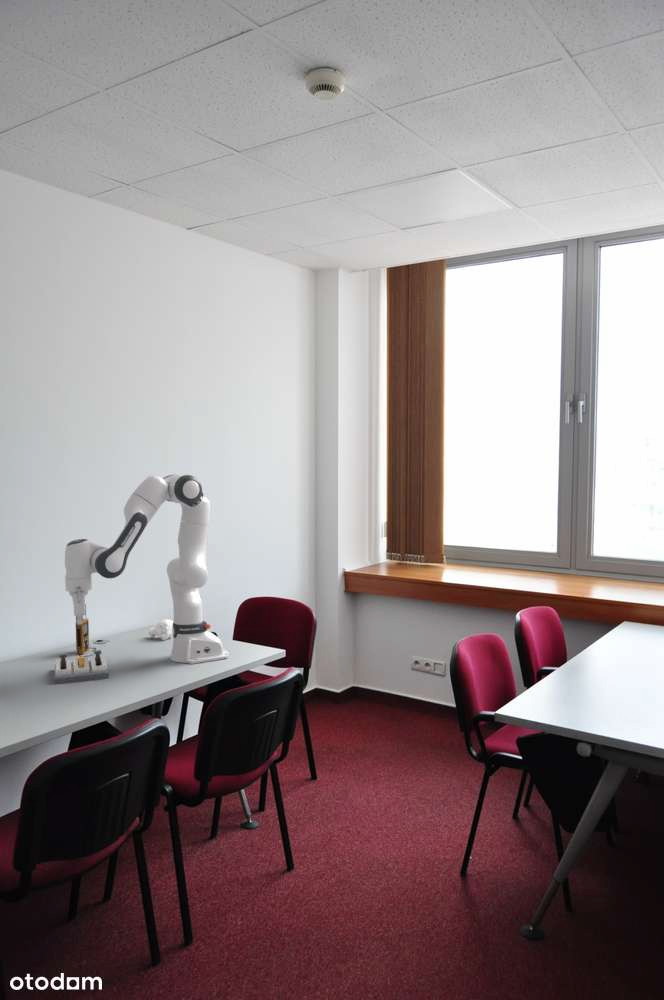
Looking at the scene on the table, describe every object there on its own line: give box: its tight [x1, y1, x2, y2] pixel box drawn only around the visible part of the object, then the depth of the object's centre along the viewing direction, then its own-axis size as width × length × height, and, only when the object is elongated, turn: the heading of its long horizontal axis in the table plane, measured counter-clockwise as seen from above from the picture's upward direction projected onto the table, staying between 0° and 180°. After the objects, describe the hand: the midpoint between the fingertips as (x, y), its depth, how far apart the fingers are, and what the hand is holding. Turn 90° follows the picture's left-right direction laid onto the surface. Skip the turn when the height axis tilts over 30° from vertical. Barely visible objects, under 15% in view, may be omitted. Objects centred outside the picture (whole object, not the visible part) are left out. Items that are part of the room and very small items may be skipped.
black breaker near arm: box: [93, 649, 102, 664], centre depth 273 cm, size 2×2×5 cm
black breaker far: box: [59, 653, 67, 668], centre depth 269 cm, size 2×2×5 cm
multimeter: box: [75, 604, 97, 658], centre depth 297 cm, size 15×10×20 cm
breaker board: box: [54, 655, 110, 685], centre depth 268 cm, size 19×18×4 cm
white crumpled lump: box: [148, 618, 174, 641], centre depth 320 cm, size 6×8×12 cm
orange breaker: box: [76, 656, 86, 667], centre depth 264 cm, size 2×2×5 cm
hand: (79, 623), depth 263 cm, fingers closed
